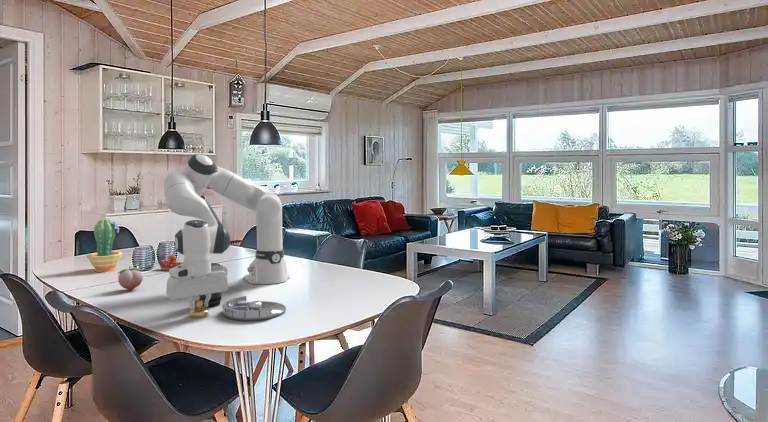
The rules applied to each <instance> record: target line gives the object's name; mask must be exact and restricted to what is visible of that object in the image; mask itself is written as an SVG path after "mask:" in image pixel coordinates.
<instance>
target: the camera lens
mask: <svg viewBox="0 0 768 422" xmlns="http://www.w3.org/2000/svg"><path fill="white" fill-rule="evenodd" d="M220 265H221V263H218V262H217V263H216V262H211V266H220ZM222 296H223V292H218V293H212V294H211V298H210V300H209V302H208V307H207V308H214V307H219V306H220V305H221V301H222ZM199 299H203V301H205V299H206V296H205V295H199Z"/></svg>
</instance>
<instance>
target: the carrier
mask: <svg viewBox="0 0 768 422" xmlns="http://www.w3.org/2000/svg"><path fill="white" fill-rule="evenodd" d="M221 307H222V313H223V315H224V317H225V319H228V320H232V321H238V322H259V321H260V322H261V321H266V320H270V319H275V318H278V317H281V316H282V315H284V314H285V313H286V311H287V308H286V305H284V304H283V303H280V302H277V301H276V302H275V301H263V300H253V301H247V295H242V296H237V297H233V298H230V299H228V300H226V301H224V302H223V304H222V306H221Z"/></svg>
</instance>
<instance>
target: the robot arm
mask: <svg viewBox="0 0 768 422" xmlns="http://www.w3.org/2000/svg"><path fill="white" fill-rule="evenodd" d="M207 188H210V189H211V190H212V191H214V192H215V193H217V194H219V195H220V196H222V197H224V198H226V199H227V200H230V201H232V202H234V203H236V204H237V205H239V206H242V207H244V208H246V209H248V210H250V211H252V212H255V216H256V218H255V219H256V250H255V258H254V259H253V260H252V262H250V263H249V265H248V266H247V274H244V275H243V278H244V279H245V280H246V281H247V282H249V284H255V285H257V284H258V285H259V284H260V285H261V284H262V285H270V284H271V285H273V284H280V283H285V282H287V281H288V279H290V278H291V276H290V275H288V267H287V261H286V260H285V259H284V257H285V255H284V254H285V251H284V247H283V204H282V201H281V198H280V197H279V196H278V195H277V194H276V193H273V192H271V191H269V190H268V189H265V188H264V187H262V186H259V185H258V184H256V183H253V182H252V181H250V180H249V179H246V178H244V177H242V176H240V175H239V174H237V173H235V172H232V171H230V170H229V169H226V168H224V167H222V166H218V165H216V163H215V161H214V160H213V159H212V158H211V157H210V156H208V155H206V154H203V153H195V154H193V155H191V157H190V158H189V159H188V161H187V163H186V165H185V166H184V168H183V170H182V171H176V170H175V171H172V172H170V173H168V174H167V175H166V177H164V183H163V191H164V198H165V201H166V204H167V207H168V209H170V211H171V212H173V213H174V214H176V215H179V216H184V217H192V218H197V219H191V220H188V221H185V222H184V224H183V228H180V230H178V231H177V232H176V233H175V234H174V239H175V240H174V242H175V245H174V246H175V247H174V248H175V251H176V252H177V253H179V254H181V255H182V256H183V255H184V256H183V264H180V265H178V266H176V267H173V268H171V269H170V270H169V271H168V274H169V277H168V278H167V280H166V291H165V294H166V297H167V298H168V299H169V300H170V301H171V300H179V299H180V300H181V299H185V300H186V302H187V303H188V306H189V308H188V309H189V310H192V309H195V304H194V302H192V300H193V297H198V296H199V295H205V296H206V299H205V301H203V306H204V308H209V307H208V302H209V300H210V298H211V294H212V293H218V292H222V293H224V292H227V291H228V290H229V281H228V280H229V279H228V268H227V266H224V265H223V264H222V265H221V264H220V266H211V263H212V257H211V254H214V255H216V254H217V255H219V254H220V255H222V254H223V253H225V251H227V250H228V249H229V248H230V245H231V238H230V234H229V231H228V230H227V227H225V226H224V224H223V223H222V222H221V221H220V218H219V217H218V215H217V213H216V212H215V210H214V208H213V207H212V205H211V203H210V202H209V201H208V200H207V199H204V198H203V195H204V193H205V191H206V190H207Z"/></svg>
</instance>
